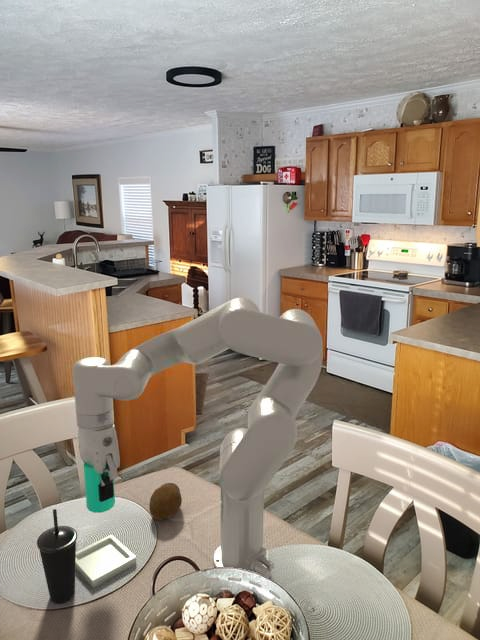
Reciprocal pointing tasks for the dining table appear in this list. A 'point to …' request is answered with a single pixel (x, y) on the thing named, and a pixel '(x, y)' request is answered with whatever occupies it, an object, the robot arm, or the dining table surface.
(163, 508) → the potato
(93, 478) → the candle
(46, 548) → the drinking cup
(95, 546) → the tray
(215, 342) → the robot arm
